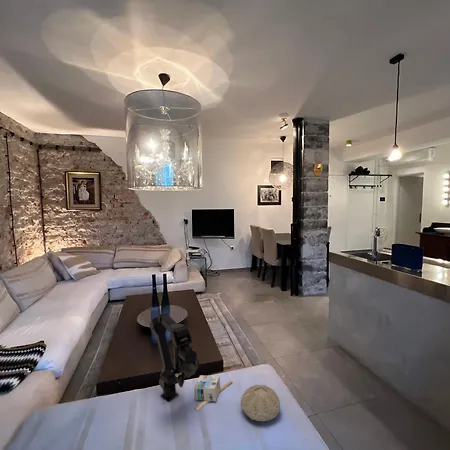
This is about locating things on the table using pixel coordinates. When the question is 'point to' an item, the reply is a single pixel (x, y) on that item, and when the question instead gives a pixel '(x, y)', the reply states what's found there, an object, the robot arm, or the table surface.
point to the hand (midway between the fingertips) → (181, 386)
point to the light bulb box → (207, 388)
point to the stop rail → (218, 393)
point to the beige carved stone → (260, 403)
